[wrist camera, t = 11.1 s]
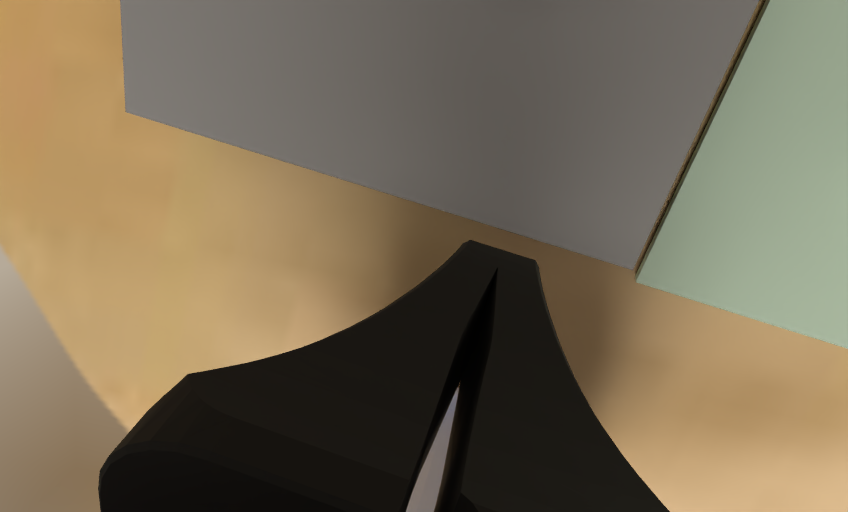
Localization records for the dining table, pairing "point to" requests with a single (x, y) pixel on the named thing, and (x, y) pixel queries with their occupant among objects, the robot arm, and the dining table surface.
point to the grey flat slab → (452, 99)
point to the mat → (769, 182)
